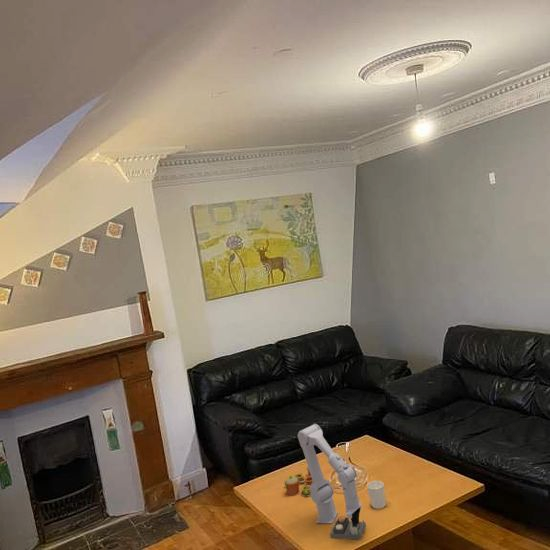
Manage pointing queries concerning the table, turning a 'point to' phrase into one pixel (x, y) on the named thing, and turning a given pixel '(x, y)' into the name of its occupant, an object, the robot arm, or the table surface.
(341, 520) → the terracotta button
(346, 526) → the control panel
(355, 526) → the slider knob
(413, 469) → the table surface
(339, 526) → the cream button
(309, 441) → the robot arm
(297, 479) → the potted succulent plants
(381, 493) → the white cup
